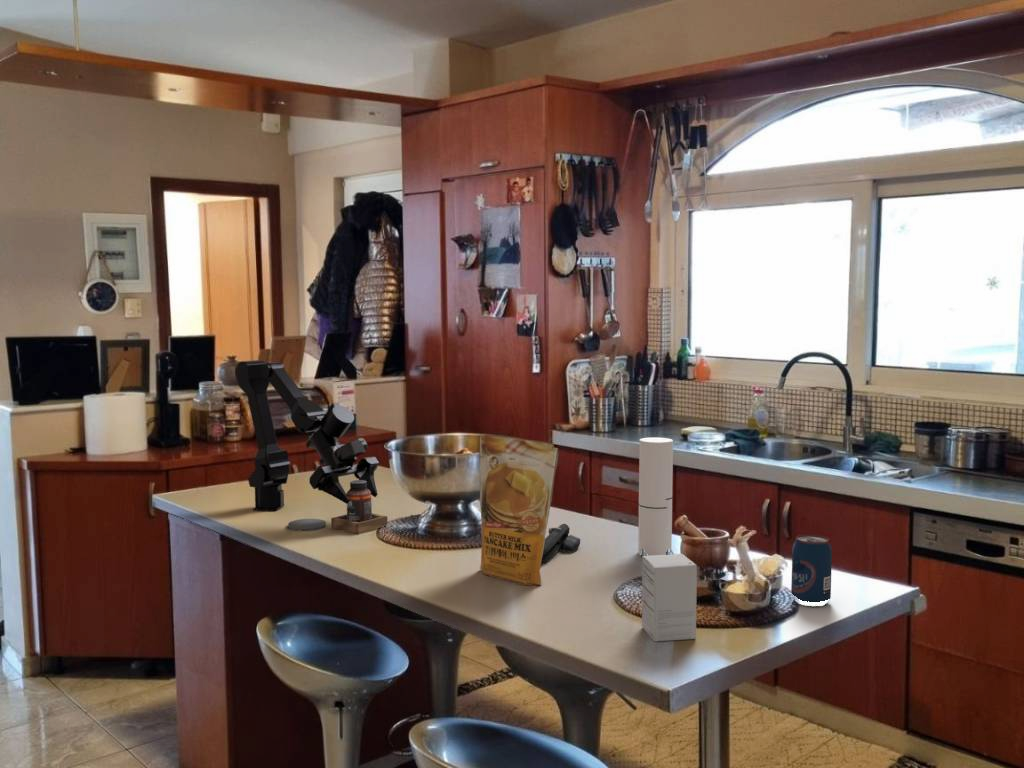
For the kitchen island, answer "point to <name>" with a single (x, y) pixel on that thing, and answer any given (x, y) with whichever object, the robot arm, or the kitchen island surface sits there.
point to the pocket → (358, 524)
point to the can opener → (559, 542)
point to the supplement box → (669, 597)
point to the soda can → (811, 568)
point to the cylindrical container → (655, 495)
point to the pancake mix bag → (515, 505)
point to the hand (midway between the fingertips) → (362, 499)
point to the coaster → (307, 524)
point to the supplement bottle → (359, 502)
